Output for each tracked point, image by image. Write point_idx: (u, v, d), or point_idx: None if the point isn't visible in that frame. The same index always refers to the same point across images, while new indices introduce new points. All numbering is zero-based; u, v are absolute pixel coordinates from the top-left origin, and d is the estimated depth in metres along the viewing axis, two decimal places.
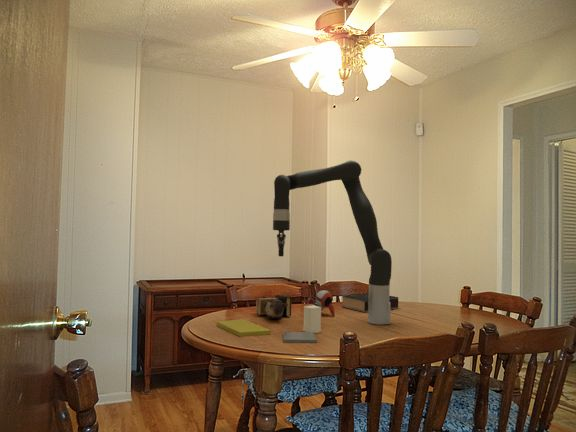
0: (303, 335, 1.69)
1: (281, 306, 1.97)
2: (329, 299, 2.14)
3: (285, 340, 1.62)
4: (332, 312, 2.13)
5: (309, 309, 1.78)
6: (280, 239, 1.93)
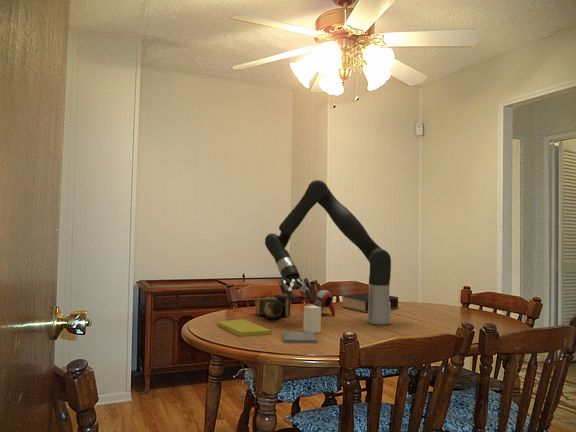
0: (303, 335, 1.69)
1: (279, 306, 1.97)
2: (329, 299, 2.14)
3: (285, 340, 1.62)
4: (332, 312, 2.13)
5: (309, 309, 1.78)
6: (281, 286, 1.89)
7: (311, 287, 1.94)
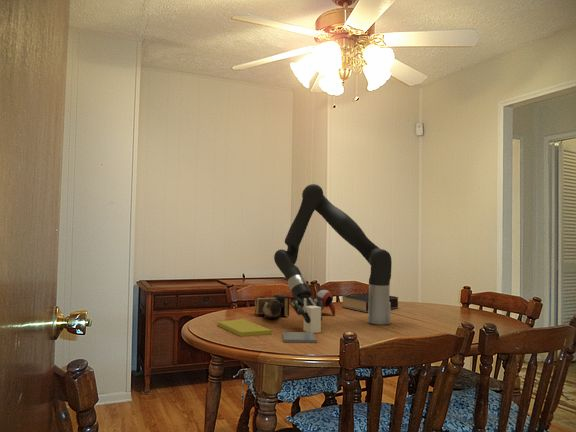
0: (303, 335, 1.69)
1: (278, 306, 1.97)
2: (330, 298, 2.15)
3: (285, 340, 1.62)
4: (333, 311, 2.14)
5: (309, 309, 1.78)
6: (295, 308, 1.81)
7: (321, 308, 1.84)
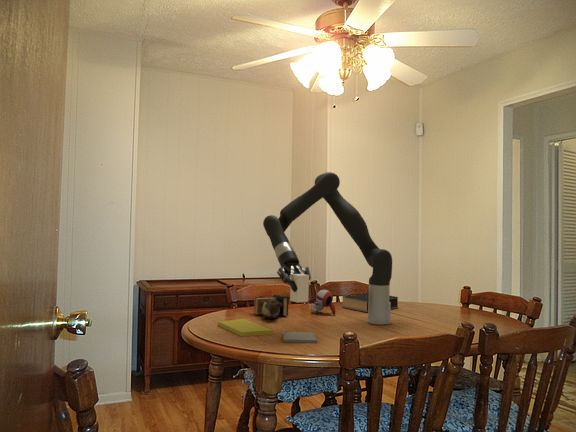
0: (303, 335, 1.69)
1: (276, 306, 1.97)
2: (330, 298, 2.16)
3: (285, 340, 1.62)
4: (333, 311, 2.15)
5: (296, 277, 1.67)
6: (281, 276, 1.69)
7: (310, 277, 1.73)
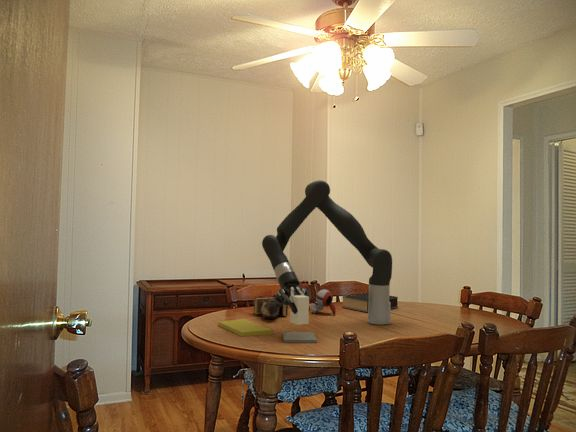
0: (303, 335, 1.69)
1: (275, 306, 1.97)
2: (330, 298, 2.17)
3: (285, 340, 1.62)
4: (333, 311, 2.16)
5: (296, 299, 1.66)
6: (281, 298, 1.69)
7: (310, 298, 1.72)
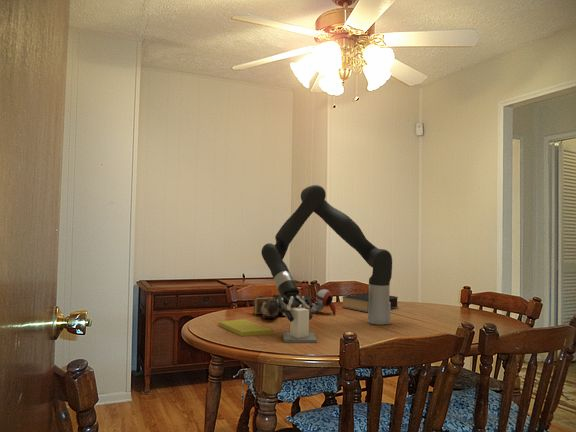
0: None
1: (275, 306, 1.97)
2: (330, 298, 2.17)
3: (285, 340, 1.62)
4: (333, 310, 2.17)
5: (296, 312, 1.66)
6: (278, 305, 1.69)
7: (312, 305, 1.73)
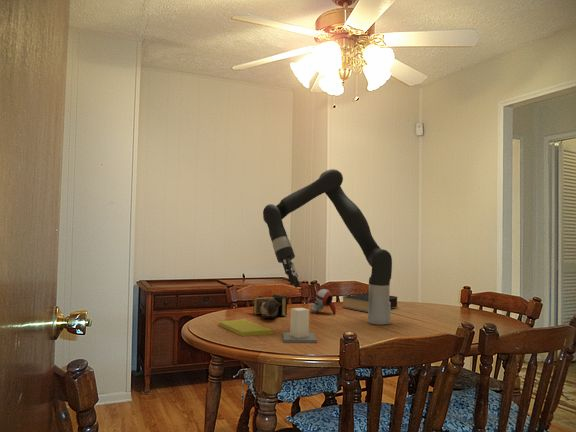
0: None
1: (274, 305, 1.98)
2: (330, 298, 2.18)
3: (285, 340, 1.62)
4: (333, 310, 2.17)
5: (296, 312, 1.66)
6: (285, 266, 1.78)
7: (297, 275, 1.90)
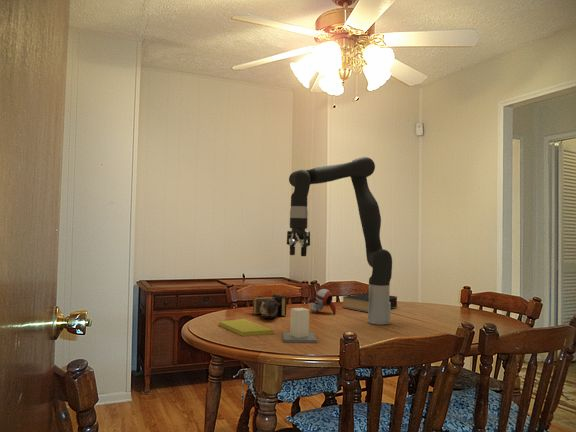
0: None
1: (274, 305, 1.98)
2: (330, 297, 2.19)
3: (285, 340, 1.62)
4: (333, 310, 2.18)
5: (296, 312, 1.66)
6: (307, 238, 1.83)
7: None
